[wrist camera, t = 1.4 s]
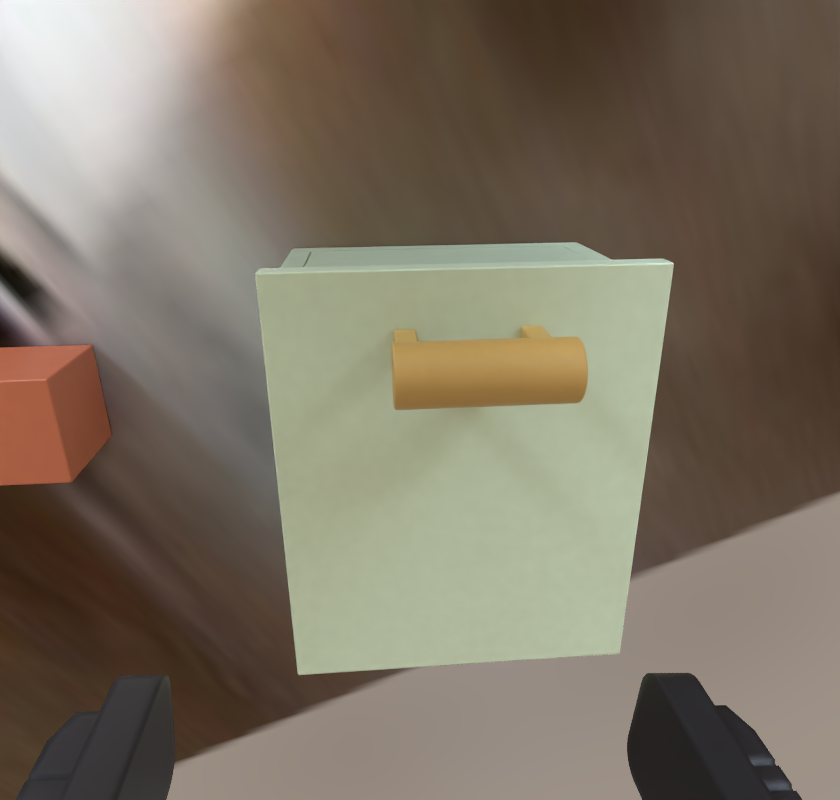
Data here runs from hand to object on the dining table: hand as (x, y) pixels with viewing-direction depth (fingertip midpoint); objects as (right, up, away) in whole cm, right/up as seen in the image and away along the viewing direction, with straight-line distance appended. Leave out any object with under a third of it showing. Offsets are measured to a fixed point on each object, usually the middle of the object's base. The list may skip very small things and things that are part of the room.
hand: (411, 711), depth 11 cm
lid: (+2, +2, +12) cm, 13 cm away
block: (-17, +6, +19) cm, 26 cm away
